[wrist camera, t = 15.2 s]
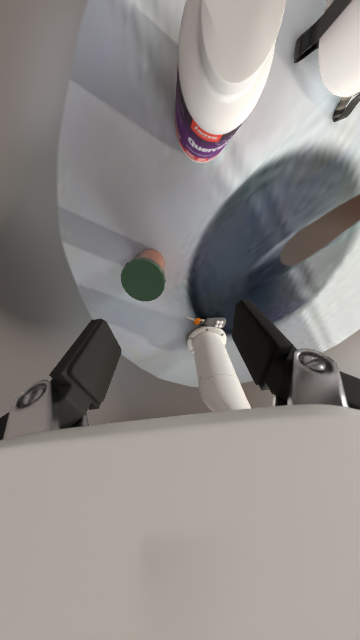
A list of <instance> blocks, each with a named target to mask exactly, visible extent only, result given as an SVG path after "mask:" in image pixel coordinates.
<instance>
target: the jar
mask: <svg viewBox="0 0 360 640" xmlns="http://www.w3.org/2000/svg"><path fill="white" fill-rule="evenodd" d="M139 257H145V258H149V259H151V260H152V259H153V261H155V262H156V263H157V264H159V265H160V267H161V268H162V270H163V272H164V266H165V263H164V259H163V257H162V255H161V254H160V253H159V252H157V251H156V250H153V249H146V250H144V251H142V252H141V253H140V254H139V255H138V257H137V258H139Z"/></svg>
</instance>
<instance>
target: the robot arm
mask: <svg viewBox="0 0 360 640" xmlns="http://www.w3.org/2000/svg"><path fill="white" fill-rule="evenodd" d="M232 338H233V340H234V342H235V344H236V346H237V348H238V350H239V352H240V354H241V356H242V358H243V360H244V362H245V364H246V366H247V368H248V370H249V372H250V374H251V376H252V378H253V380H254V382H255V384H256V385H259V386H260V388H261V390H270V391H271V393H272V394H274V398H273V406H272V407H261V408H251V407H250V405H249V403H248V401H247V399H246V396H245V394H244V392H243V389H242V387H241V385H240V382H239V380H238V378H237V375H236V373H235V370H234V368H233V365H232V363H231V361H230V358H229V356H228V353H227V351H226V348H225V346H224V345H225V343H226V335H225V333H224V331H223V330H222V329H220V328H217V327H207V326H203V327H200V328H198V329H196V330H194V331H193V332H192V333H191V334H190V335H189V337H188V340H187V345H188V348H189V350H190V351H191V352H193V353H194V358H195V364H196V370H197V376H198V382H199V388H200V394H201V397H202V400H203V401H204V403H205V404H206V406H207V407H208V408H209V409H210V410H211V411H213V412H211V413H202V414H192V415H182V416H174V417H164V418H154V419H145V420H136V421H127V422H118V423H109V424H100V425H91V426H89V424H88V419H87V414H86V412H87V410H88V409H89V410H92V409H99V406H100V404H101V402H103V400H104V398H105V396H106V393H107V390H108V388H109V385H110V382H111V379H112V377H113V373H114V371H115V369H116V366H117V363H118V360H119V358H120V355H121V348H120V346H119V344H118V342H117V340H116V339H115V337H114V335H113V333H112V331H111V329H110V327H109V326H108V324H107V322H106V321H104V320H103V319H96V320H91V322H90V323H89V324H88V325H87V327H86V328H85V329H84V331H83V332H82V333H81V335H80V336H79V337H78V338H77V340H76V341H75V342H74V344H73V345H72V346H71V347H70V349H69V350H68V351H67V353H66V354H65V355H64V356H63V358H62V359H61V361H60V362H59V363H58V365H57V366H56V367H55V368H54V369H53V371H52V372H51V373H50V375H49V376H51V377H52V378H53V379H52V380H51V381H48V380H41V381H38V382H35V383H33V384H32V385H30V386H28V387H27V388H26V389H24V390H23V391H22V392H21V393H20V394H19V395H18V396H17V397H16V398H15V400H14V401H13V403H12V405H11V409H10V412H9V413H7V414H6V415H4V416H3V417H1V418H0V640H360V379H358V378H356V377H353V376H351V375H348V374H345V373H343V372H340V371H339V368H338V366H337V364H336V363H335V362H334V361H333V360H332V359H331V358H330V357H328V356H327V355H325V354H323V353H321V352H318V351H316V350H312V349H299V350H297V349H296V348H295V347H294V345H293V344H292V343H291V342H290V341H289V340H288V339H287V338H286V337H285V336H284V335H283V334H282V333H281V332H280V331H279V330H278V329H277V328H276V326H275V325H274V324H273V323H272V322H271V321H270V320H269V319H268V318H267V317H266V316H265V315H264V314H263V313H262V312H261V311H260V310H259V309H258V307H257V306H256V305H255V304H254V303H253V302H252V301H251V300H250V299H246V300H240V301H239V302H238V303H236V306H235V314H234V323H233V331H232Z"/></svg>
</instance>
